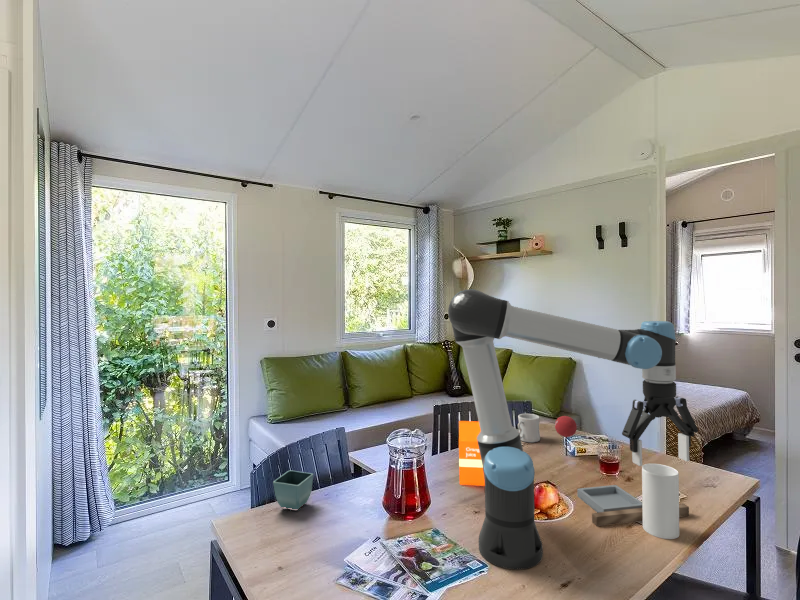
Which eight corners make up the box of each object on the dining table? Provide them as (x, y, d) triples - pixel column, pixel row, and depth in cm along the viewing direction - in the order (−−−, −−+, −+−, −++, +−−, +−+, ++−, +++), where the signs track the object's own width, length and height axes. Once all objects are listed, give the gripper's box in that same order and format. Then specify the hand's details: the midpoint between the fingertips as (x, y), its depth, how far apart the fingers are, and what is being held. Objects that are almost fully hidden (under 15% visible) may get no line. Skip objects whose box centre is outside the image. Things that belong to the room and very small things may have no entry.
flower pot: (299, 516, 124) (298, 485, 124) (272, 512, 127) (272, 481, 127) (314, 502, 133) (314, 473, 133) (289, 498, 136) (289, 469, 135)
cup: (685, 540, 109) (684, 477, 108) (649, 537, 110) (648, 475, 110) (671, 523, 117) (670, 464, 116) (638, 520, 118) (637, 462, 118)
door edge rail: (596, 526, 116) (596, 516, 116) (592, 522, 118) (592, 513, 118) (688, 515, 120) (688, 506, 120) (683, 512, 122) (683, 503, 122)
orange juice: (486, 486, 141) (485, 425, 141) (459, 484, 143) (458, 424, 143) (485, 476, 149) (484, 418, 149) (459, 474, 151) (458, 417, 150)
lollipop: (562, 450, 172) (561, 412, 172) (580, 455, 166) (580, 416, 166) (551, 455, 167) (551, 416, 167) (570, 460, 161) (569, 420, 161)
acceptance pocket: (603, 517, 120) (603, 509, 120) (577, 496, 133) (577, 488, 133) (645, 513, 122) (645, 504, 122) (615, 492, 135) (615, 484, 135)
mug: (525, 434, 192) (525, 412, 191) (544, 439, 185) (544, 416, 184) (509, 441, 184) (508, 417, 183) (527, 446, 177) (527, 422, 177)
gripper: (625, 386, 107) (627, 471, 108) (713, 380, 111) (715, 462, 112) (606, 380, 115) (608, 460, 115) (689, 375, 119) (691, 452, 119)
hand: (660, 461), depth 113 cm, fingers open, 13 cm apart
